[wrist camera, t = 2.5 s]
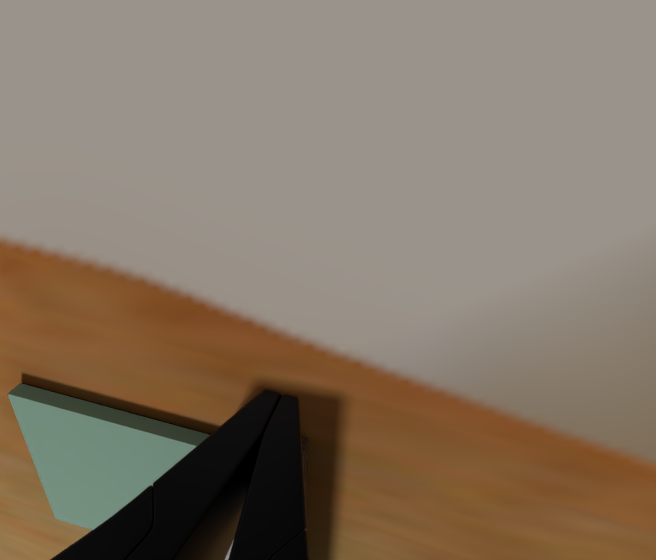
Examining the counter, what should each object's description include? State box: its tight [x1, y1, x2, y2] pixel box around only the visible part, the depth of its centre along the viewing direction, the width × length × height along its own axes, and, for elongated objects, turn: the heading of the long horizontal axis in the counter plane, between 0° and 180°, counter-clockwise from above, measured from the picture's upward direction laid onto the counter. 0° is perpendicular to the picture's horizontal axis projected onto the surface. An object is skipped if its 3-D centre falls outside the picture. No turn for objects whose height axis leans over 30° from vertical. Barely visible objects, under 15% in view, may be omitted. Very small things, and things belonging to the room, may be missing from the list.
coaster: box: [8, 383, 210, 530], centre depth 18 cm, size 9×9×1 cm
